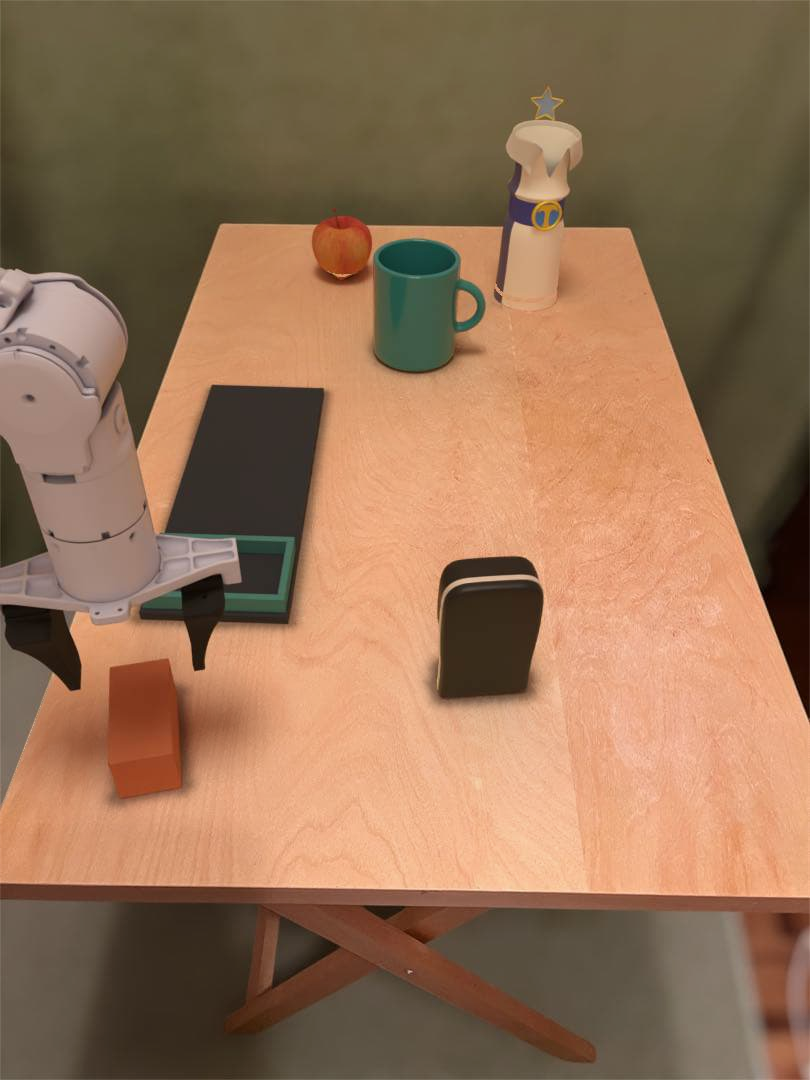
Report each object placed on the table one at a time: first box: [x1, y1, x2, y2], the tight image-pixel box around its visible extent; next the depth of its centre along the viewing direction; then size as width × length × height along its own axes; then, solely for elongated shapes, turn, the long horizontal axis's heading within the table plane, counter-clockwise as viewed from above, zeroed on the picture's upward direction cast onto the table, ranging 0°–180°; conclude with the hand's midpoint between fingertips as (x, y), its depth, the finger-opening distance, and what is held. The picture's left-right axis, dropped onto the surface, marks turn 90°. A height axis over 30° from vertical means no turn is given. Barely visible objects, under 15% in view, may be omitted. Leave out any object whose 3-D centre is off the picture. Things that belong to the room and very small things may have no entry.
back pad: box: [138, 384, 325, 625], centre depth 82 cm, size 32×12×2 cm, turn 179°
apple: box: [311, 207, 373, 281], centre depth 112 cm, size 7×7×8 cm
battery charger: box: [436, 555, 545, 697], centre depth 64 cm, size 7×4×11 cm, turn 96°
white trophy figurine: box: [493, 85, 584, 312], centre depth 103 cm, size 8×9×25 cm
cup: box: [372, 237, 487, 373], centre depth 97 cm, size 9×12×11 cm
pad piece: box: [107, 657, 183, 799], centre depth 62 cm, size 4×8×4 cm, turn 13°
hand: (137, 668), depth 58 cm, fingers open, 7 cm apart
